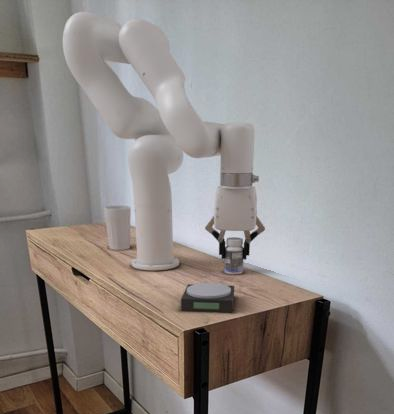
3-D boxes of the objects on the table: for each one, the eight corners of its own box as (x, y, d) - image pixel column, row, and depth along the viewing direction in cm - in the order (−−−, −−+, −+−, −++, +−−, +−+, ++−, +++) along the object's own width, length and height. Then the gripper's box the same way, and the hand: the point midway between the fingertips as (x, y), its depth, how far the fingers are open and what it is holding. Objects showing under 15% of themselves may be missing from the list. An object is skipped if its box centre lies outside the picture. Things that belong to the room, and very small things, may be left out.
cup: (101, 247, 148) (98, 207, 143) (122, 243, 153) (120, 204, 148) (117, 251, 143) (114, 209, 138) (138, 247, 148) (136, 207, 143)
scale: (187, 295, 105) (187, 281, 103) (234, 296, 104) (234, 282, 102) (181, 311, 95) (180, 296, 94) (231, 312, 94) (232, 297, 93)
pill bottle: (221, 270, 123) (222, 237, 120) (239, 269, 124) (240, 236, 121) (227, 275, 119) (228, 241, 116) (245, 273, 120) (247, 240, 117)
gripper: (272, 179, 115) (268, 255, 123) (201, 179, 117) (201, 253, 125) (273, 182, 109) (268, 262, 116) (198, 182, 110) (198, 260, 118)
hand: (234, 257), depth 120 cm, fingers closed on pill bottle, 4 cm apart
